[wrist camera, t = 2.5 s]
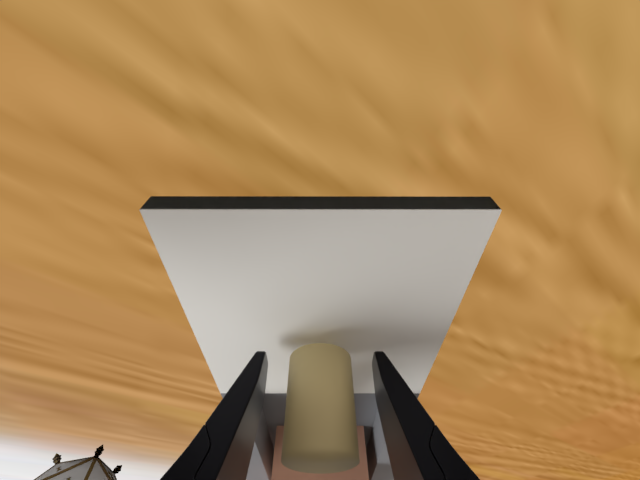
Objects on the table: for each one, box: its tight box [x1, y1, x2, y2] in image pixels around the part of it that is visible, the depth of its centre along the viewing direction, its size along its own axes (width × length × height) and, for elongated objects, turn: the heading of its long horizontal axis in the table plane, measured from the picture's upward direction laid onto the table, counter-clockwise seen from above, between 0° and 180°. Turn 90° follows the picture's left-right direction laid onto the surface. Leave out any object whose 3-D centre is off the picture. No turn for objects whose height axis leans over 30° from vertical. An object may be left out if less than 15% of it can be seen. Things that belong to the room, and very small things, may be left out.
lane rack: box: [139, 196, 502, 480], centre depth 16 cm, size 25×11×3 cm, turn 0°
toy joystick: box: [271, 343, 369, 480], centre depth 16 cm, size 17×6×4 cm, turn 0°
